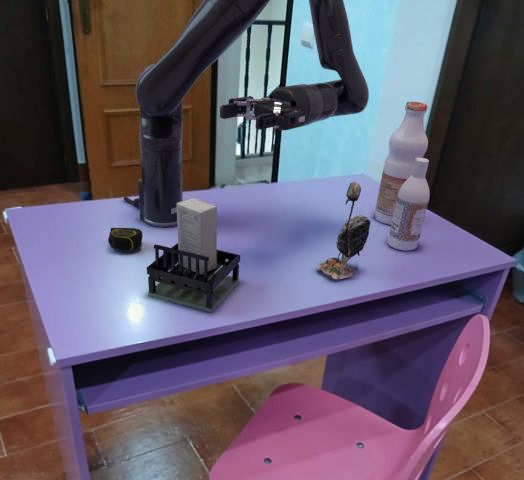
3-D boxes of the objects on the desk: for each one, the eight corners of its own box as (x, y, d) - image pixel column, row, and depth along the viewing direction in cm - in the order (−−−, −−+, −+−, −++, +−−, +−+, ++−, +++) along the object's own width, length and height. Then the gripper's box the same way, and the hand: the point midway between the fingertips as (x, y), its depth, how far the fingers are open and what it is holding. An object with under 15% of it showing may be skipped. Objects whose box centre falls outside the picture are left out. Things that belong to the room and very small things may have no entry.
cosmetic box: (217, 268, 105) (219, 206, 98) (200, 276, 102) (201, 212, 95) (193, 257, 108) (193, 196, 101) (176, 264, 105) (175, 202, 98)
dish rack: (148, 296, 104) (145, 245, 98) (180, 267, 114) (179, 220, 108) (211, 313, 100) (212, 261, 95) (239, 282, 111) (241, 234, 105)
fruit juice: (375, 210, 149) (398, 97, 132) (411, 216, 147) (438, 102, 131) (371, 222, 141) (394, 104, 125) (408, 229, 139) (437, 110, 123)
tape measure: (143, 241, 123) (142, 225, 120) (140, 255, 117) (139, 239, 115) (111, 240, 122) (110, 224, 120) (107, 254, 116) (105, 237, 114)
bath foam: (402, 253, 127) (423, 166, 115) (381, 242, 132) (399, 156, 120) (423, 248, 130) (445, 162, 119) (401, 237, 135) (421, 153, 123)
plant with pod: (373, 274, 118) (393, 181, 106) (329, 284, 113) (345, 187, 101) (350, 258, 123) (367, 168, 112) (307, 266, 118) (320, 173, 107)
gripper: (269, 78, 109) (210, 86, 98) (328, 92, 101) (272, 102, 91) (266, 119, 113) (209, 130, 102) (323, 135, 106) (268, 149, 95)
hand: (239, 117), depth 97 cm, fingers open, 8 cm apart
